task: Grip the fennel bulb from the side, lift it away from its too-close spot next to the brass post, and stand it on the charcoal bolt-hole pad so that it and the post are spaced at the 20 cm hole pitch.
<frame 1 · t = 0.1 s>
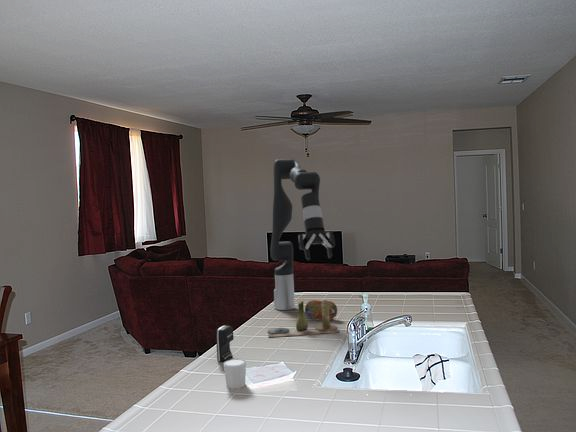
hand: (319, 258, 199), 31 cm above the worktop, tool tilted 20°, fingers open, 8 cm apart
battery: (226, 359, 181), on the worktop
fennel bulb: (302, 330, 214), on the worktop
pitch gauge: (297, 330, 214), on the worktop
tin: (321, 319, 232), on the worktop
white cup: (236, 385, 156), on the worktop
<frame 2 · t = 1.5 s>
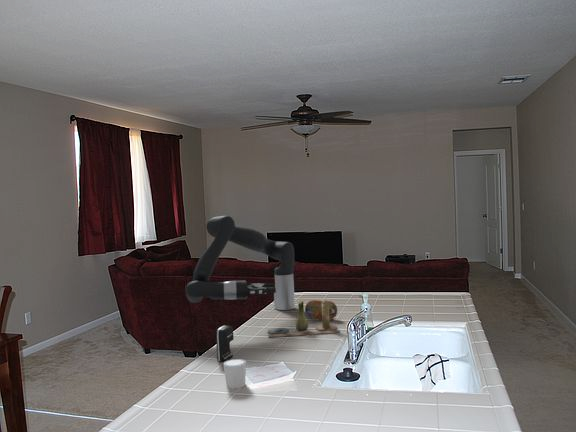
hand: (274, 288, 212), 18 cm above the worktop, tool horizontal, fingers open, 8 cm apart
nothing on the worktop moved.
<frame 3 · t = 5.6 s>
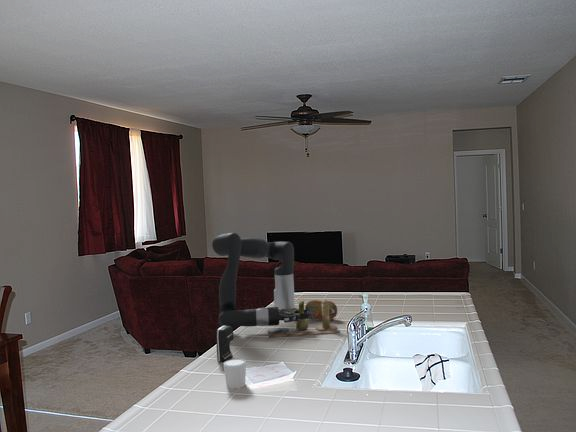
hand: (307, 314, 214), 7 cm above the worktop, tool horizontal, fingers closed on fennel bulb, 6 cm apart
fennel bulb: (302, 330, 214), on the worktop, touching gripper
everything else where it was.
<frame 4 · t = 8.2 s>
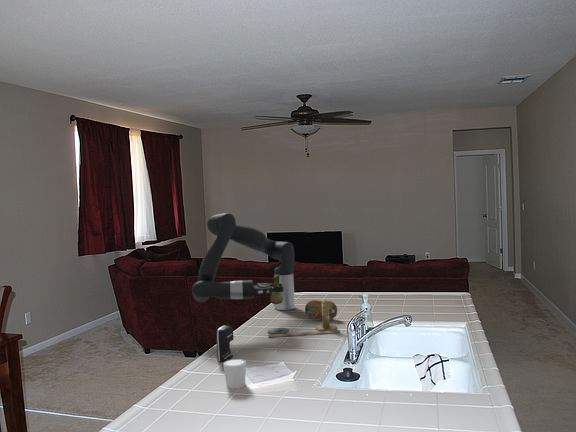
hand: (282, 287, 213), 18 cm above the worktop, tool horizontal, fingers closed on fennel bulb, 6 cm apart
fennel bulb: (277, 304, 213), point 12 cm above the worktop, touching gripper
everything else where it was.
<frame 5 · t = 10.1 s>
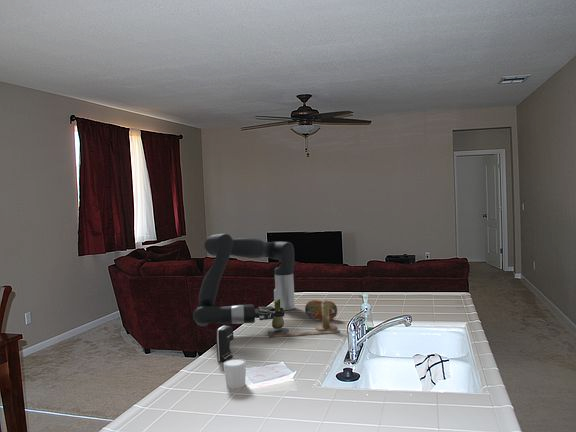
hand: (283, 311, 213), 8 cm above the worktop, tool horizontal, fingers closed on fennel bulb, 6 cm apart
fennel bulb: (278, 328, 213), point 1 cm above the worktop, touching gripper
everything else where it was.
when the fingers open (8 cm above the worktop, at t = 10.5 s): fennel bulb drops 1 cm, resting on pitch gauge.
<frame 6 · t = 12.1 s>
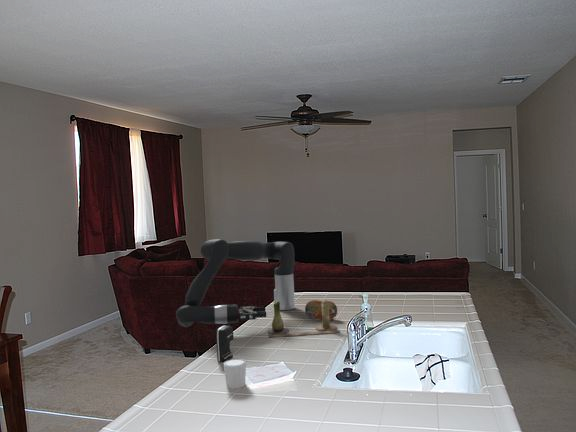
hand: (265, 311, 212), 9 cm above the worktop, tool horizontal, fingers open, 8 cm apart
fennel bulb: (278, 331, 213), resting on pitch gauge
everything else where it was.
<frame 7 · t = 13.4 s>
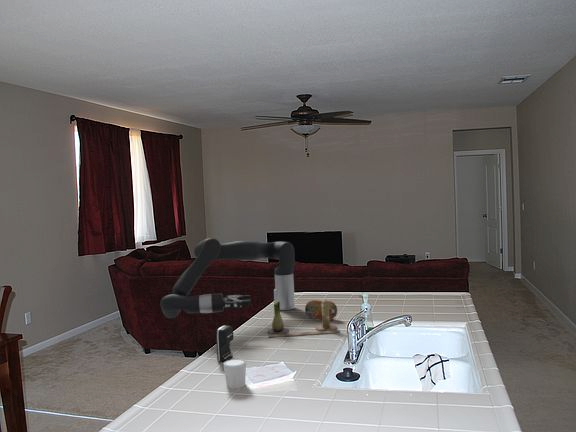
hand: (250, 300, 212), 14 cm above the worktop, tool horizontal, fingers open, 8 cm apart
nothing on the worktop moved.
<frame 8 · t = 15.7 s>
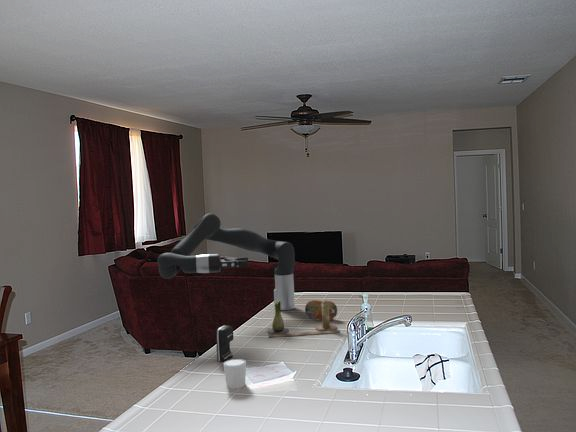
hand: (248, 261, 211), 30 cm above the worktop, tool horizontal, fingers open, 8 cm apart
nothing on the worktop moved.
at the end: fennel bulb 0.2 cm from the target spot on the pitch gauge, point 0.4 cm above the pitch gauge's base; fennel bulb tilted 2°; the gripper is holding nothing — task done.
